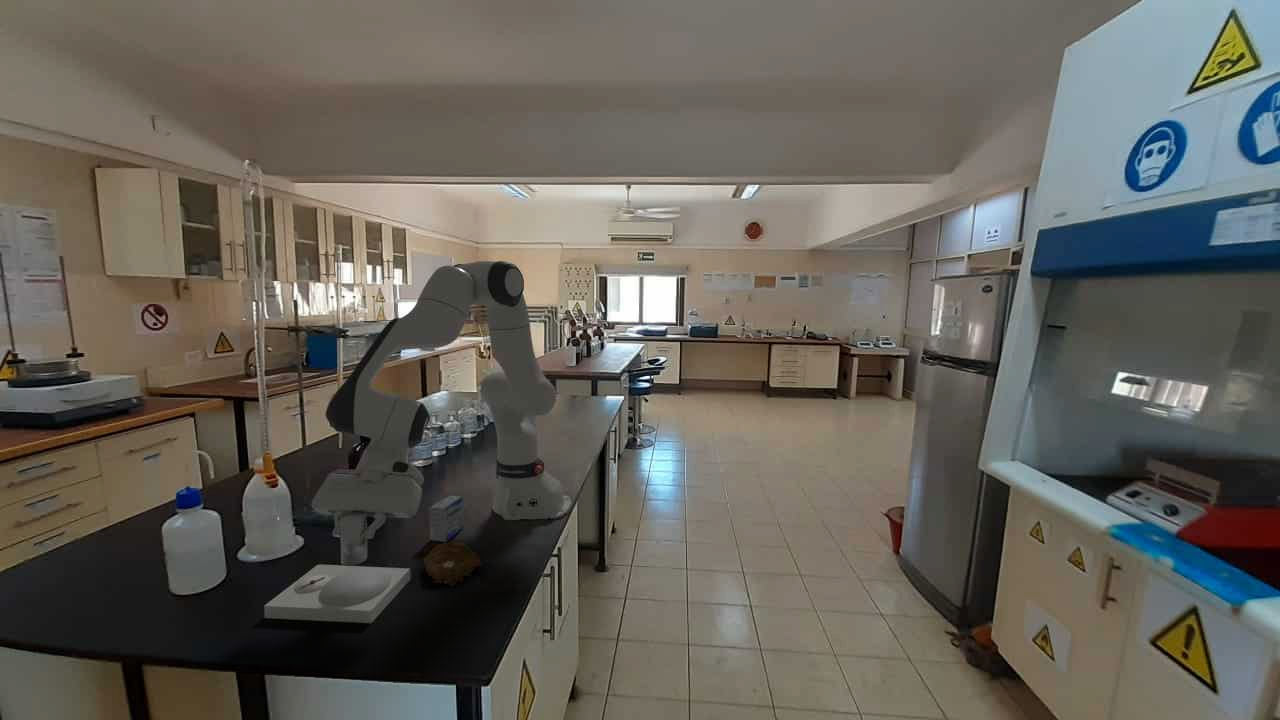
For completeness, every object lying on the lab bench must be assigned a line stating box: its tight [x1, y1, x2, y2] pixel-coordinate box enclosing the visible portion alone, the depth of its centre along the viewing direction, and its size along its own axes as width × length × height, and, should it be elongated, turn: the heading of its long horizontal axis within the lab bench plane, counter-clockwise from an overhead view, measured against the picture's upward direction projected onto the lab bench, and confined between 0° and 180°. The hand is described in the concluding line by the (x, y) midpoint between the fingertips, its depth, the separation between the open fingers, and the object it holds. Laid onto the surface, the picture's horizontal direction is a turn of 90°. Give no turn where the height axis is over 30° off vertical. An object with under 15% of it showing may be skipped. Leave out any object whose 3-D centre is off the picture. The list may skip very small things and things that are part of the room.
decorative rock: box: [422, 539, 482, 586], centre depth 105 cm, size 11×4×15 cm
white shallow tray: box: [263, 564, 411, 624], centre depth 94 cm, size 20×14×3 cm
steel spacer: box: [339, 511, 368, 566], centre depth 92 cm, size 4×4×9 cm
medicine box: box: [428, 495, 464, 543], centre depth 120 cm, size 8×4×9 cm, turn 168°
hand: (352, 536), depth 91 cm, fingers closed on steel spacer, 4 cm apart
